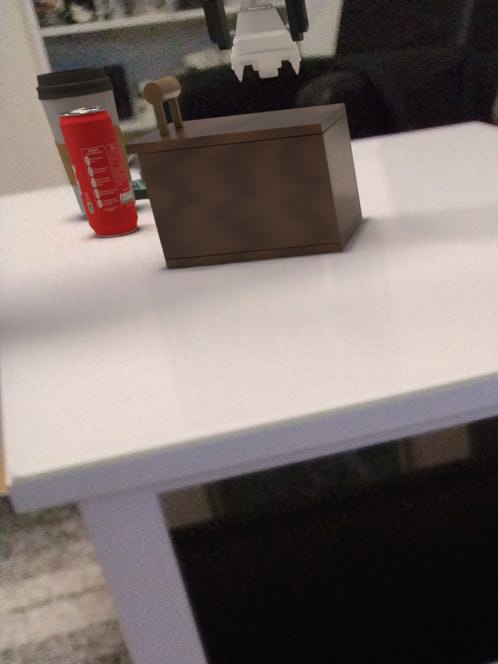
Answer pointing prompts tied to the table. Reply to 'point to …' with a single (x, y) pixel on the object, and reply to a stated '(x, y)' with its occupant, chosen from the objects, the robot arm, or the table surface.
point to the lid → (224, 123)
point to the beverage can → (99, 171)
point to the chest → (254, 198)
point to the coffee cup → (73, 94)
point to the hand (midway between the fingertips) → (261, 44)
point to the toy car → (262, 41)
